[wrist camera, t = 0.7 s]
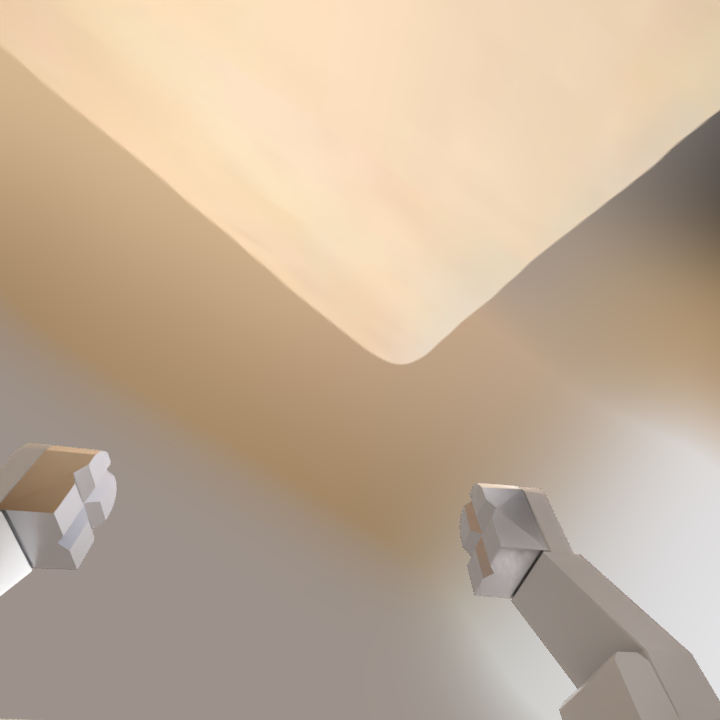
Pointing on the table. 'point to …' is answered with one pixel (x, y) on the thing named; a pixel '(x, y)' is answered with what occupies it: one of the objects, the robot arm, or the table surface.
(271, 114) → the table surface
